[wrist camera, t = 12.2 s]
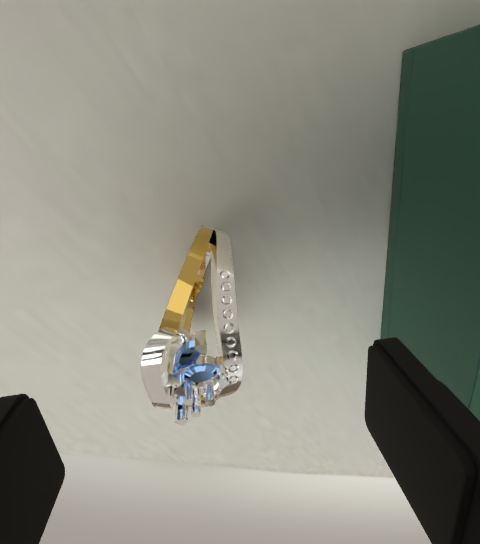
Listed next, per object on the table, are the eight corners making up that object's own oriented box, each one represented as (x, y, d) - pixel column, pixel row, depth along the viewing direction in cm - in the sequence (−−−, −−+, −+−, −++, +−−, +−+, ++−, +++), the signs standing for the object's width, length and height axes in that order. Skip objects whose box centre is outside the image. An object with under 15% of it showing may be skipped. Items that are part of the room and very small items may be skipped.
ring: (202, 339, 19) (208, 477, 11) (143, 326, 18) (109, 464, 11) (246, 221, 16) (290, 299, 9) (181, 199, 16) (172, 265, 8)
